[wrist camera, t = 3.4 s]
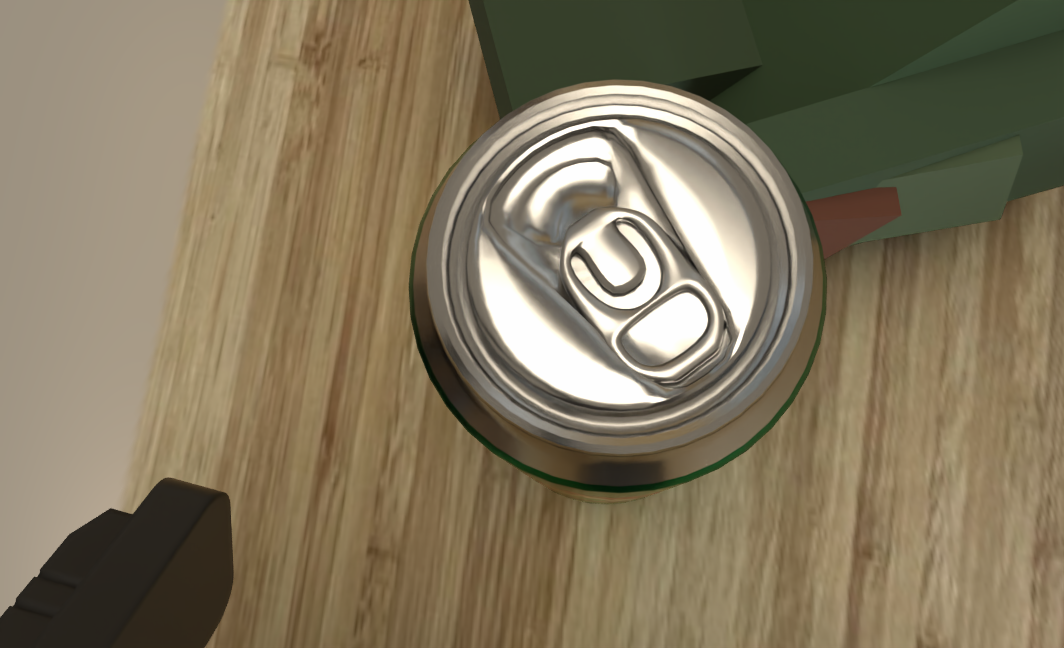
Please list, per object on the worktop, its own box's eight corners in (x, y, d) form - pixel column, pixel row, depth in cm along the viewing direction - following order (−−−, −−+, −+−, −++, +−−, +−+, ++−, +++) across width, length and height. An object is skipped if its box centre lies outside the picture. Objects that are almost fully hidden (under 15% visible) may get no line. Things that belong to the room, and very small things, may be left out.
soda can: (625, 239, 24) (659, -36, 12) (763, 414, 23) (948, 303, 11) (449, 368, 23) (304, 217, 12) (581, 550, 22) (570, 588, 11)
